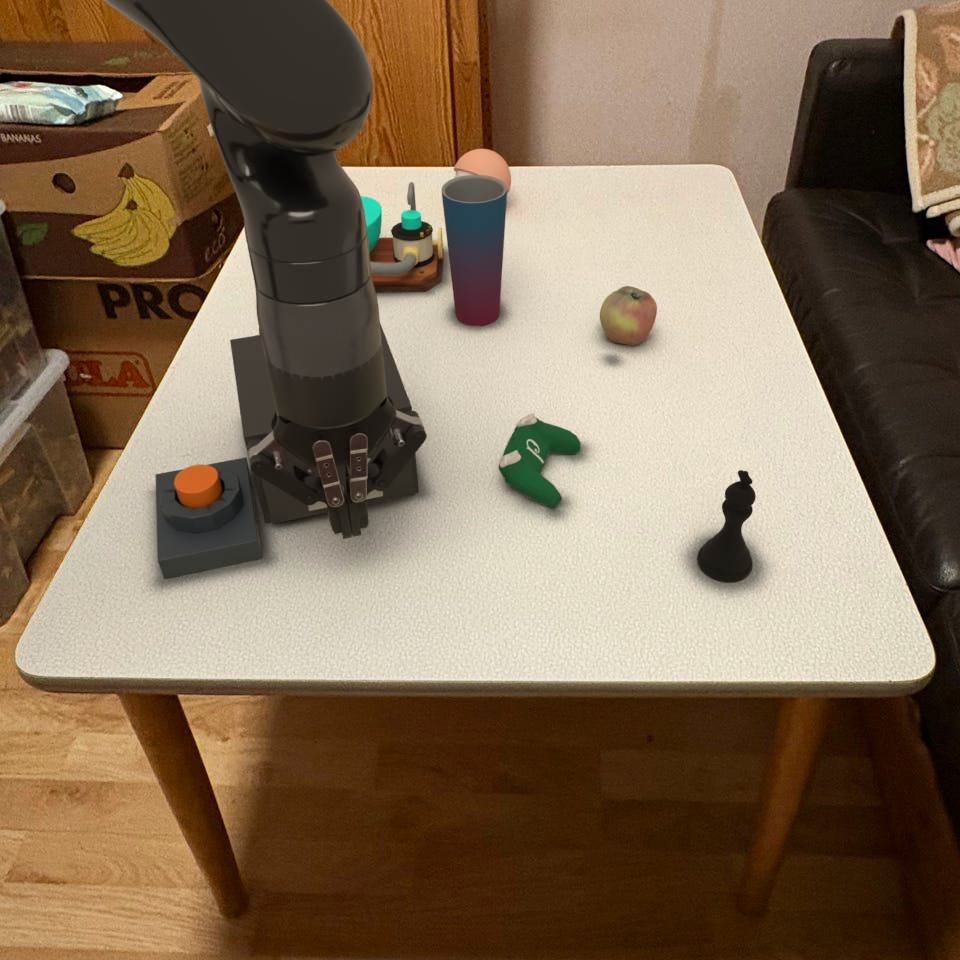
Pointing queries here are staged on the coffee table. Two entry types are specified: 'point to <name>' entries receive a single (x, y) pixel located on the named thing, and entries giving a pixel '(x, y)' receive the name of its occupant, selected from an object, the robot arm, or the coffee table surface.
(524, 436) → the gaming controller
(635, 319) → the apple
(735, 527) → the chess piece
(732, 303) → the coffee table surface
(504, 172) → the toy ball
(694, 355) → the coffee table surface
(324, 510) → the dark box with handle
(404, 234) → the contraption on wooden base
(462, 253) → the cup
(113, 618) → the coffee table surface
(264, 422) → the drawer cabinet
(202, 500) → the button
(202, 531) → the control block
